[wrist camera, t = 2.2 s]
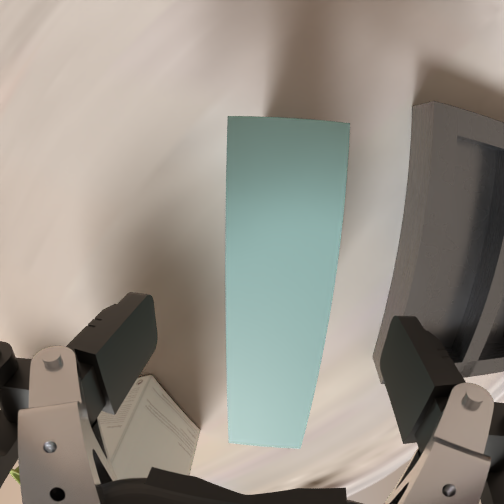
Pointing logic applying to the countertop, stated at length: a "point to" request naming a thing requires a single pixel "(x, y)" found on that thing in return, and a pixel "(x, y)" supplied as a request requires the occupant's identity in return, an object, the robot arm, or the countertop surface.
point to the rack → (453, 238)
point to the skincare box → (149, 433)
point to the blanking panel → (279, 269)
